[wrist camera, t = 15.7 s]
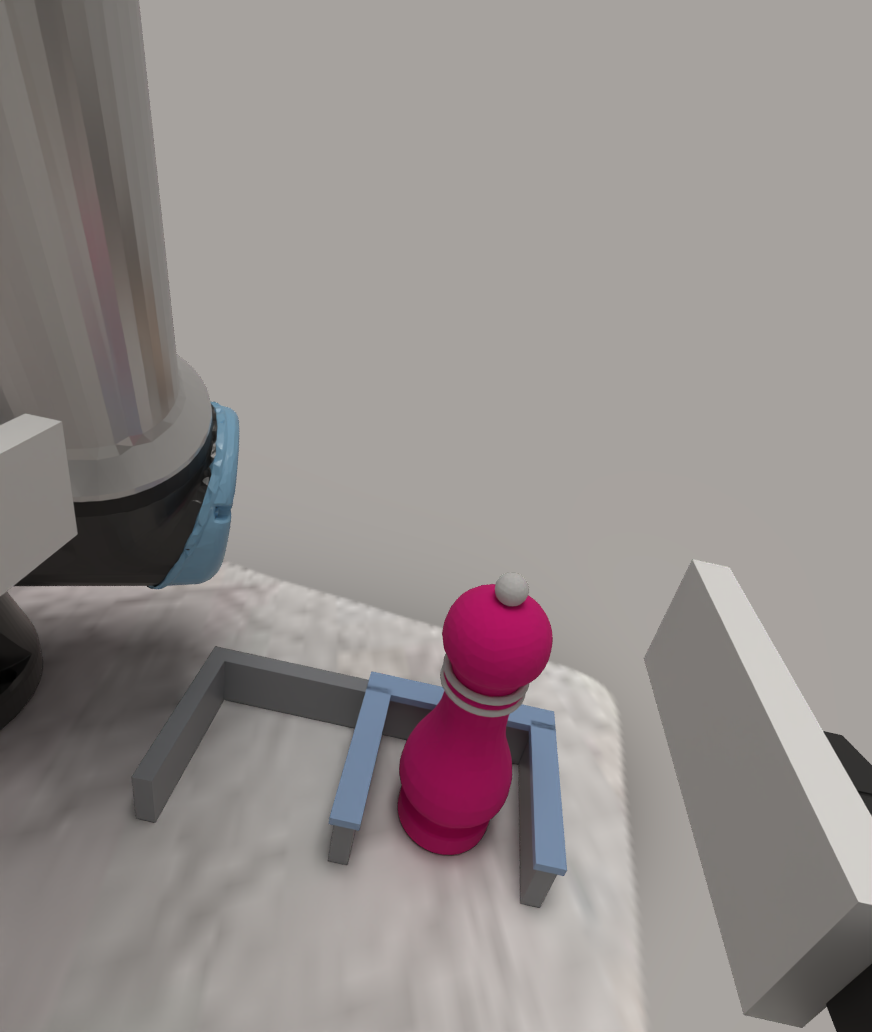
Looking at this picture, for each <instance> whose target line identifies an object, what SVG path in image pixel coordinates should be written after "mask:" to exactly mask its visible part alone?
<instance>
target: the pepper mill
mask: <svg viewBox="0 0 872 1032" xmlns="http://www.w3.org/2000/svg"><path fill="white" fill-rule="evenodd" d="M528 593H529V586H528V583H527V581H526V579H525V578H524V577H523V576H522V575H520V574H518V573H513V572H512V573H506V574H503V575H502V576H500V578H499V579H498V580H497V582H496V584H490V585H481V586H478V587H475V588H472V589H470V590H468V591H467V592H465V593H463V594H462V595H461V596H460V597H459V598H458V599H457V600H456V601H455V602H454V604H453V605H452V606H451V608H450V610H449V612H448V614H447V617H446V619H445V622H444V626H443V632H442V636H443V645H444V649H445V652H446V654H445V657H444V662H443V666H442V669H441V674H440V679H441V684H442V686H443V689H444V693H443V696H442V698H441V700H440V701H439V703H438V704H437V706H436V707H435V708H434V709H433V710H432V711H431V712H430V713H429V714H428V715H427V716H425V717H424V718H423V719H422V720H421V721H420V722H419V723H418V724H417V726H416V727H415V728H414V730H413V731H412V732H411V734H410V735H409V737H408V739H407V741H406V744H405V746H404V749H403V752H402V755H401V759H400V767H399V774H400V780H401V784H402V786H401V790H400V794H399V798H398V814H399V818H400V821H401V824H402V826H403V828H404V829H405V831H406V833H407V834H408V835H409V836H410V838H411V839H412V840H413V841H415V842H416V843H417V844H418V845H419V846H421V847H423V848H424V849H426V850H428V851H430V852H433V853H438V854H443V855H454V854H459V853H463V852H465V851H468V850H470V849H471V848H472V847H474V846H475V845H477V843H478V842H479V841H480V840H481V839H482V837H483V835H484V833H485V831H486V829H487V826H488V823H489V821H490V819H492V818H493V817H494V816H495V815H496V814H497V813H498V812H499V811H500V809H501V808H502V806H503V805H504V803H505V801H506V798H507V796H508V793H509V789H510V785H511V780H512V759H511V753H510V749H509V745H508V742H507V738H506V725H507V721H508V717H509V714H510V713H512V712H514V711H515V710H517V709H518V708H519V707H520V706H521V704H522V703H523V701H524V698H525V694H526V692H527V690H528V687H529V683H530V682H532V681H533V680H535V679H536V678H537V677H538V676H539V675H540V674H541V672H542V671H543V670H544V668H545V666H546V664H547V662H548V660H549V657H550V653H551V648H552V639H553V638H552V629H551V625H550V622H549V620H548V617H547V615H546V613H545V612H544V611H543V609H542V608H541V606H540V605H539V604H538V603H537V602H536V601H535V600H534V599H533V598H531V597H530V596H529V595H528Z"/></svg>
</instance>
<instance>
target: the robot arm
mask: <svg viewBox="0 0 872 1032" xmlns="http://www.w3.org/2000/svg"><path fill="white" fill-rule="evenodd" d="M238 452H239V420H238V416H237V414H236V413H235V412H234V411H233V410H232V409H231V408H228V407H224V406H221V405H219V404H218V403H216V402H210V398H209V394H208V391H207V388H206V386H205V384H204V382H203V380H202V379H201V377H200V376H199V374H198V373H197V372H196V371H195V370H194V369H193V368H192V366H190V365H189V364H188V363H187V362H186V361H185V360H184V359H183V358H181V357H180V356H179V355H177V354H176V346H175V337H174V327H173V318H172V308H171V299H170V290H169V280H168V270H167V261H166V252H165V242H164V233H163V224H162V214H161V205H160V195H159V185H158V176H157V167H156V157H155V148H154V138H153V129H152V119H151V111H150V101H149V91H148V81H147V72H146V64H145V53H144V44H143V34H142V25H141V16H140V6H139V0H0V729H2V728H3V727H4V726H5V725H6V724H7V723H9V722H10V721H11V720H12V719H13V718H14V717H15V716H16V715H17V714H18V713H19V712H20V711H21V710H22V709H23V707H24V706H25V705H26V704H27V702H28V701H29V700H30V698H31V697H32V695H33V693H34V692H35V690H36V688H37V686H38V684H39V681H40V678H41V674H42V669H43V659H42V653H41V648H40V643H39V639H38V635H37V632H36V630H35V628H34V626H33V624H32V622H31V621H30V620H29V618H28V617H27V616H26V615H25V613H24V612H23V611H22V610H21V608H20V607H19V606H18V605H17V603H16V602H15V601H14V600H13V599H12V597H11V596H10V595H9V594H8V592H7V591H8V590H9V589H10V588H11V587H13V586H147V587H149V588H151V589H162V588H164V587H166V586H171V585H188V584H200V583H203V582H206V581H208V580H209V579H211V578H212V577H213V576H214V575H215V574H216V573H217V572H218V571H219V569H220V567H221V565H222V562H223V559H224V555H225V551H226V546H227V542H228V536H229V529H230V522H231V508H232V505H233V497H234V494H235V486H236V476H237V465H238ZM644 661H645V664H646V668H647V671H648V675H649V679H650V682H651V685H652V689H653V693H654V696H655V700H656V704H657V707H658V711H659V714H660V718H661V721H662V725H663V728H664V732H665V736H666V739H667V742H668V746H669V750H670V753H671V757H672V761H673V764H674V768H675V771H676V775H677V778H678V782H679V786H680V789H681V793H682V796H683V799H684V803H685V807H686V810H687V814H688V817H689V821H690V825H691V828H692V832H693V836H694V839H695V843H696V846H697V849H698V853H699V857H700V860H701V864H702V868H703V871H704V875H705V878H706V881H707V885H708V889H709V893H710V896H711V899H712V903H713V907H714V910H715V914H716V917H717V921H718V925H719V928H720V932H721V935H722V939H723V942H724V946H725V949H726V953H727V956H728V960H729V964H730V967H731V971H732V975H733V978H734V981H735V985H736V988H737V992H738V996H739V999H740V1003H741V1007H742V1010H743V1014H744V1015H747V1016H751V1017H755V1018H760V1019H765V1020H769V1021H774V1022H778V1023H782V1024H787V1025H791V1026H796V1027H800V1028H803V1027H804V1026H805V1025H806V1024H807V1023H808V1022H809V1021H811V1020H812V1019H813V1018H814V1017H815V1016H816V1015H818V1013H820V1012H821V1011H822V1010H823V1009H825V1008H826V1007H827V1008H828V1011H829V1013H830V1016H831V1018H832V1021H833V1024H834V1026H835V1029H836V1031H837V1032H872V765H871V764H870V763H869V762H868V761H867V760H866V759H865V758H864V757H863V756H862V755H861V754H860V753H859V752H858V751H857V750H856V749H855V748H854V747H853V746H852V745H851V744H850V743H849V742H848V741H847V740H846V739H845V738H844V737H843V736H842V735H838V734H833V733H829V732H825V731H822V729H821V727H820V725H819V724H818V722H817V720H816V718H815V716H814V715H813V713H812V711H811V709H810V708H809V706H808V704H807V702H806V701H805V699H804V697H803V695H802V694H801V692H800V690H799V688H798V687H797V685H796V683H795V681H794V680H793V678H792V676H791V674H790V673H789V671H788V669H787V668H786V666H785V664H784V662H783V660H782V659H781V657H780V655H779V653H778V652H777V650H776V648H775V646H774V645H773V643H772V641H771V639H770V638H769V636H768V634H767V632H766V631H765V629H764V627H763V625H762V624H761V622H760V620H759V618H758V617H757V615H756V613H755V611H754V610H753V608H752V606H751V605H750V603H749V601H748V599H747V597H746V596H745V594H744V592H743V591H742V589H741V587H740V585H739V583H738V582H737V580H736V578H735V577H734V575H733V573H732V571H731V569H730V568H729V567H726V566H721V565H717V564H712V563H707V562H703V561H698V560H694V559H692V561H691V563H690V565H689V567H688V569H687V571H686V573H685V575H684V578H683V579H682V581H681V583H680V585H679V587H678V590H677V592H676V594H675V596H674V598H673V600H672V602H671V604H670V606H669V608H668V610H667V612H666V614H665V616H664V618H663V620H662V622H661V624H660V626H659V628H658V631H657V633H656V635H655V637H654V639H653V641H652V643H651V645H650V647H649V649H648V651H647V653H646V655H645V658H644Z"/></svg>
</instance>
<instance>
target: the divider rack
mask: <svg viewBox="0 0 872 1032" xmlns="http://www.w3.org/2000/svg"><path fill="white" fill-rule="evenodd" d="M443 693H444V689H443V687H440V686H435V685H431V684H426V683H422V682H417V681H413V680H408V679H404V678H399V677H395V676H390V675H385V674H381V673H376V672H372V671H371V675H370V678H369V680H367V679H362V678H358V677H353V676H348V675H344V674H339V673H335V672H330V671H326V670H321V669H317V668H312V667H308V666H303V665H299V664H294V663H289V662H285V661H280V660H276V659H271V658H267V657H262V656H258V655H253V654H249V653H244V652H239V651H235V650H230V649H226V648H221V647H217V646H215V648H214V649H213V651H212V652H211V654H210V655H209V657H208V659H207V660H206V662H205V663H204V665H203V666H202V668H201V669H200V671H199V673H198V674H197V676H196V677H195V679H194V680H193V682H192V683H191V685H190V687H189V688H188V690H187V691H186V693H185V694H184V696H183V697H182V699H181V701H180V702H179V704H178V705H177V707H176V708H175V710H174V711H173V713H172V715H171V716H170V718H169V719H168V721H167V722H166V724H165V726H164V727H163V729H162V730H161V732H160V733H159V735H158V736H157V738H156V740H155V741H154V743H153V744H152V746H151V747H150V749H149V750H148V752H147V754H146V755H145V757H144V758H143V760H142V761H141V763H140V764H139V766H138V768H137V769H136V771H135V772H134V774H133V775H132V786H133V795H134V804H135V813H136V818H137V819H142V820H146V821H151V822H156V820H157V819H158V817H159V815H160V813H161V811H162V810H163V808H164V806H165V804H166V802H167V801H168V799H169V797H170V795H171V794H172V792H173V790H174V788H175V786H176V785H177V783H178V781H179V779H180V777H181V776H182V774H183V772H184V770H185V768H186V767H187V765H188V763H189V761H190V760H191V758H192V756H193V754H194V752H195V751H196V749H197V747H198V745H199V743H200V742H201V740H202V738H203V736H204V734H205V733H206V731H207V729H208V727H209V726H210V724H211V722H212V720H213V718H214V717H215V715H216V713H217V711H218V709H219V708H220V706H221V704H222V702H223V700H229V701H233V702H238V703H242V704H247V705H251V706H256V707H261V708H265V709H270V710H274V711H279V712H283V713H288V714H292V715H297V716H301V717H306V718H310V719H315V720H319V721H324V722H329V723H333V724H338V725H342V726H347V727H351V728H355V731H354V734H353V737H352V741H351V744H350V748H349V751H348V755H347V758H346V762H345V765H344V769H343V772H342V776H341V779H340V783H339V786H338V790H337V793H336V797H335V800H334V804H333V807H332V810H331V814H330V817H329V824H331V825H334V828H333V834H332V840H331V846H330V852H329V858H328V861H331V862H336V863H340V864H345V865H347V864H348V860H349V856H350V851H351V847H352V843H353V839H354V835H355V831H356V830H358V831H359V829H360V825H361V821H362V816H363V812H364V808H365V804H366V799H367V795H368V791H369V787H370V782H371V778H372V774H373V770H374V765H375V761H376V757H377V753H378V748H379V744H380V740H381V736H382V734H383V735H387V736H392V737H397V738H401V739H406V740H407V739H408V737H409V735H410V734H411V732H412V731H413V730H414V728H415V727H416V726H417V724H418V723H419V722H420V721H421V720H422V719H423V718H424V717H425V716H427V715H428V714H429V713H430V712H431V711H432V710H433V709H434V708H435V707H436V706H437V704H438V703H439V701H440V700H441V698H442V696H443ZM506 738H507V742H508V745H509V749H510V753H511V759H512V763H514V764H519V827H520V904H525V905H529V906H534V907H538V908H540V906H541V904H542V902H543V901H544V899H545V897H546V895H547V893H548V891H549V889H550V887H551V885H552V883H553V881H554V879H555V877H556V875H561V876H564V875H565V873H566V871H567V865H566V852H565V840H564V828H563V815H562V803H561V791H560V779H559V766H558V754H557V742H556V729H555V717H554V711H549V710H544V709H540V708H535V707H531V706H526V705H522V704H521V706H520V707H519V708H518V709H517V710H515V711H514V712H512V713H510V714H509V717H508V721H507V725H506Z"/></svg>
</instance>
